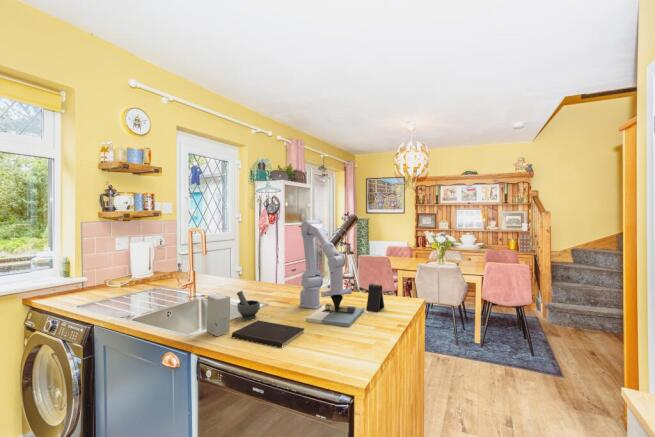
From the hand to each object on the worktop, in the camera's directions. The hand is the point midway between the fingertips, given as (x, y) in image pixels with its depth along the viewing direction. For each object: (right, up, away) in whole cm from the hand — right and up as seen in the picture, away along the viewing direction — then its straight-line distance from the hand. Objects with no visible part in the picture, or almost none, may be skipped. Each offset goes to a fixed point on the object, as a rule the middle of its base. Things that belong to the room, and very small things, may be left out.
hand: (336, 311), depth 146 cm
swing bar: (+1, 0, +2) cm, 3 cm away
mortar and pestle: (-41, -3, -2) cm, 41 cm away
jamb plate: (-6, -2, +2) cm, 7 cm away
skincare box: (-48, -3, -19) cm, 52 cm away
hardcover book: (-27, -4, -22) cm, 35 cm away
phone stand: (+19, -2, +11) cm, 22 cm away
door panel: (+3, -2, -2) cm, 4 cm away
